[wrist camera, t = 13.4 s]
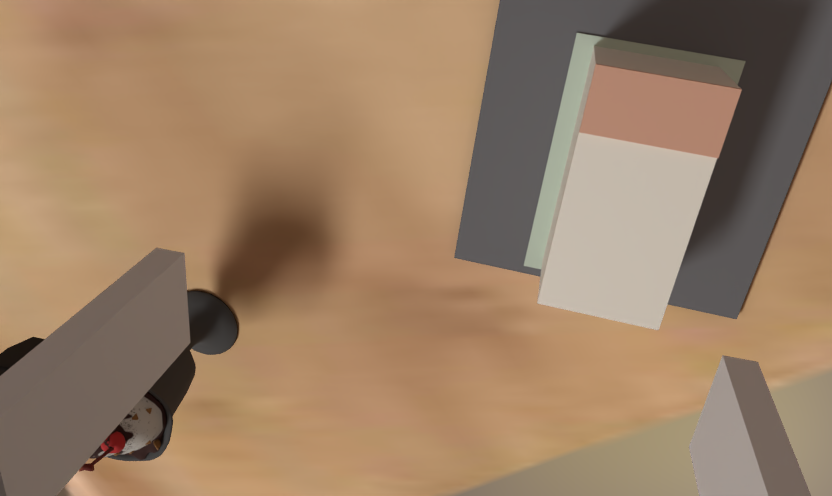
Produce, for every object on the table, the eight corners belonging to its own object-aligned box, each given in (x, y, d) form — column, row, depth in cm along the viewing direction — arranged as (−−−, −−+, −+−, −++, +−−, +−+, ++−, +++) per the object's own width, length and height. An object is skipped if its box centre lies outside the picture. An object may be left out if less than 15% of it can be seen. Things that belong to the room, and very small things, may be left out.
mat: (532, -178, 31) (531, -180, 31) (911, -129, 29) (916, -130, 29) (455, 254, 41) (454, 258, 40) (735, 315, 39) (737, 320, 38)
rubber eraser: (649, 283, 38) (658, 332, 34) (542, 261, 39) (537, 305, 35) (719, 67, 33) (742, 89, 29) (593, 45, 34) (595, 64, 29)
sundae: (266, 316, 46) (136, 475, 32) (225, 380, 49) (91, 550, 35) (181, 259, 45) (14, 397, 32) (145, 327, 48) (-20, 480, 35)
